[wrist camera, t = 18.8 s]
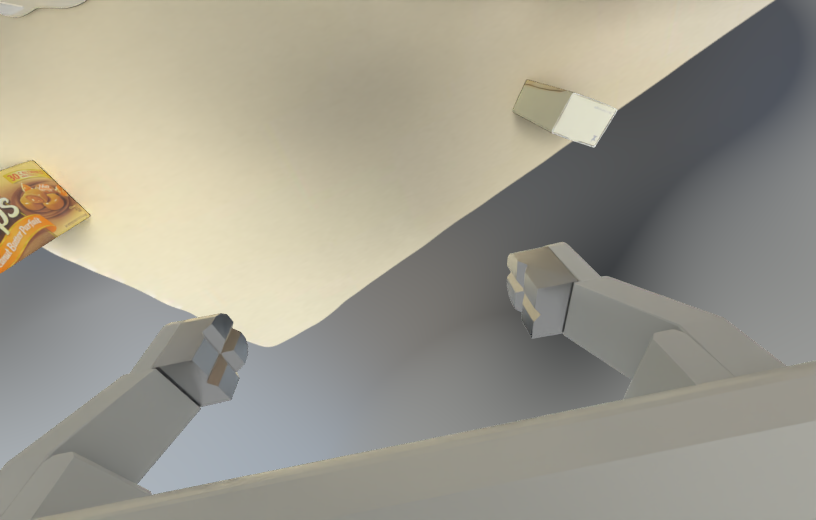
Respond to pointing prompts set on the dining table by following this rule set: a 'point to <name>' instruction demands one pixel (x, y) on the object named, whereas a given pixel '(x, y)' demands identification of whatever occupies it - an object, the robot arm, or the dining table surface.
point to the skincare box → (564, 112)
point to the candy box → (32, 212)
